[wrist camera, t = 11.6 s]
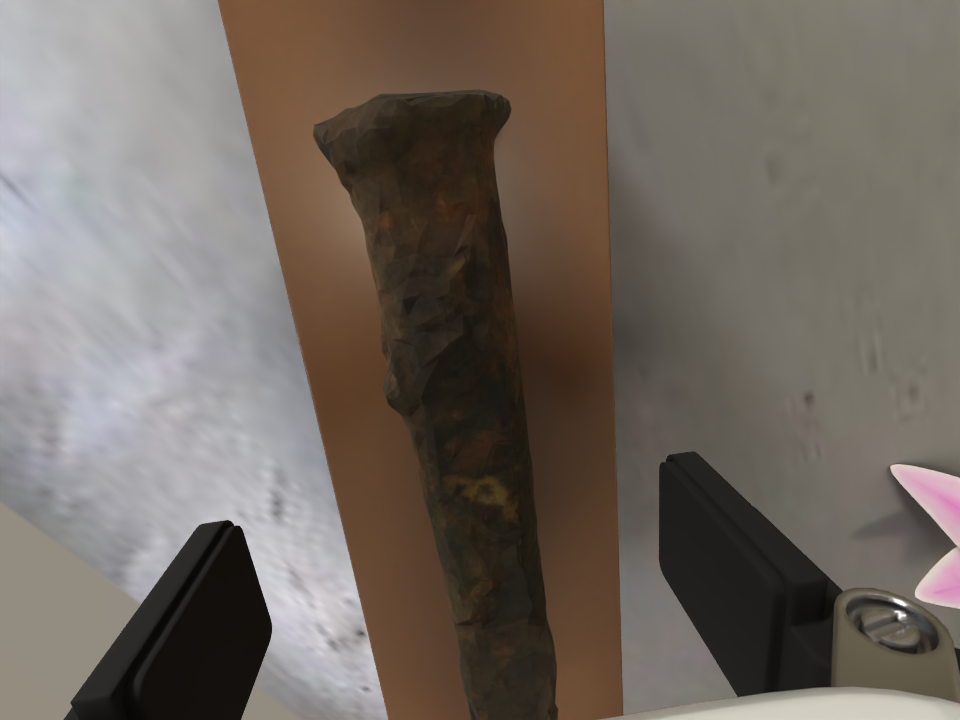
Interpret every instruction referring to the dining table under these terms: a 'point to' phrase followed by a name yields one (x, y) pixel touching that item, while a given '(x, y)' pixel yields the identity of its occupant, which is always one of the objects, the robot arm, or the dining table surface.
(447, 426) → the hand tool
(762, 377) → the dining table surface
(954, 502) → the lily
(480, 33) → the shelf stand
